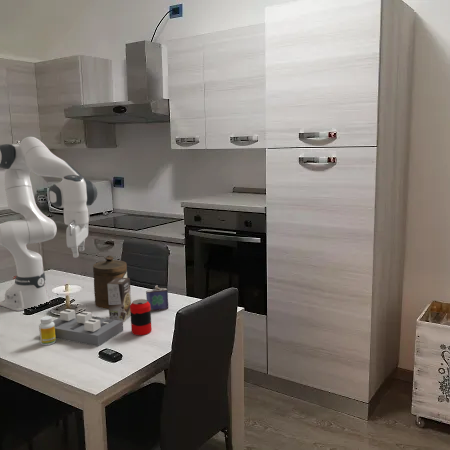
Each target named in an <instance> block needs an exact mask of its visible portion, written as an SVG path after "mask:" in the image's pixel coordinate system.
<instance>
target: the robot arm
mask: <svg viewBox="0 0 450 450" xmlns="http://www.w3.org/2000/svg"><path fill="white" fill-rule="evenodd" d="M0 168H1V169H2V170H3V169H5V170H4V190H5V196H6V200H7V206H8V208H9V209H10V211H13V212H15V213H17V214H20V215H21V216H23V217H24V219H17V220H8V221H5V222H4V221H3V222H1V223H0V246H1V247H3V248H5V249H7V250H8V252H10V254H11V255H12V257H13V260H14V263H15V268H16V275H15V276H13V277H12V279H13V280H14V283H13V284H12V285H11V286H10V287H9V288H8V289H6V291H5V293H4V299H3V300H2V301H1V302H0V306H1V307H4V308H7V309H9V310H12V311H16V312H19V311H20V312H21V311H25V310H24V309H27V308H31V307H34V306H38V305H40V304H44V303H46V302H49V301H50V302H51V300H50V299H51V297H50V296H49V293H48V288H47V284H46V282H45V281H46V275H45V271H44V263H43V256H42V255H41V254H40V253H39V252H37V251H34V250H31V249H29V248H27V246H28V245H31V244H38V243H44V242H47V241H50V240H53V239H54V238H55V237H56V235H57V230H58V229H57V224H56V222H55V221H54V219H52V218H50V217H48V216H47V215H45V214H44V213H43V212H42V211H41V209H40V208H39V207H38V205H37V204H36V203H37V202H36V200H35V196H34V195H35V194H34V191H33V184H32V181H31V173H33V174H35V175H36V176H38V177H39V176H40V177H48V178H49V177H50V178H59V179H62V180H61V181H59V182H57V183H55V184H54V183H53V184H52V185H51V186H50V188H49V190H48V201H49V203H50V204H51V205H52V206H53V207H55V208H59V209H63V220H64V224H65V225H66V226H67V227H66V231H65V232H66V234H65V235H66V236H65V237H66V247H67V248H68V249H71V252H72V257H73V258H74V259H75V258H79V257H80V256H79V254H80V253H79V252H84V251H85V241H86V238H88V236H89V222H90V221H89V220H90V213H89V208H88V207H89V206H91V205H93V204H94V202H96V200H97V198H98V189H97V188H96V185H95V184H94V183H93V182H92V181H90V180H89V179H87V178H85V177H84V176H83V175H82V174H81V173H80V172H79V171H78V170H77V169H76V168H75V167H74V166H73V165H71V164H70V163H69V162H67V161H66V160H64V159H62V158H60V157H58V156H57V155H55V154H54V153H53V152H52V151H50V149H49V148H48V147H47V146H46V145H45V144H44V143H43V142H42V140H40V139H38V138H37V137H34V136H27V137H24V138H22V139H21V141H20V142H19V143H16V144H15V143H12V144H10V143H4V144H0ZM27 310H28V309H27Z"/></svg>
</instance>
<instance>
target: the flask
mask: <svg viewBox="0 0 450 450" xmlns="http://www.w3.org/2000/svg"><path fill="white" fill-rule="evenodd" d="M158 286H159V285H157V284H156V285H155V286H154V288H153V289H148V290H146V291H145V293H146V294H145V296H146V297H145V298H146V300H147V301H148V302H149V303H150V309H151V312H158V311H166V310H169V292H168V291H169V290H168V289H167V288H164V287H158Z"/></svg>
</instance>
